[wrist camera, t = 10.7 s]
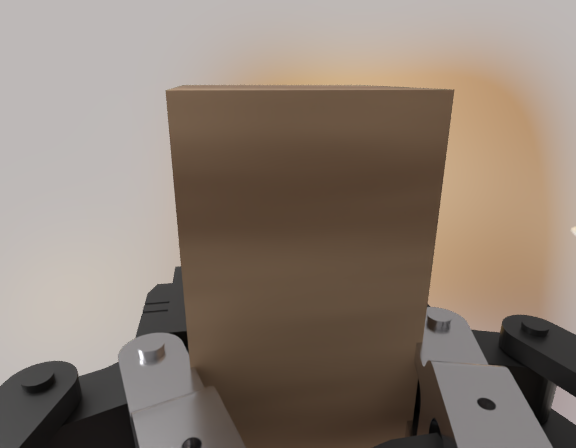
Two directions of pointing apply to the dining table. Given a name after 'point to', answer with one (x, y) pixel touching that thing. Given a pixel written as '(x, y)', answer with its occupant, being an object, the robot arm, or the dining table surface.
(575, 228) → the dining table surface
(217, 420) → the robot arm
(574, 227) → the dining table surface
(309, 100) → the walnut block
